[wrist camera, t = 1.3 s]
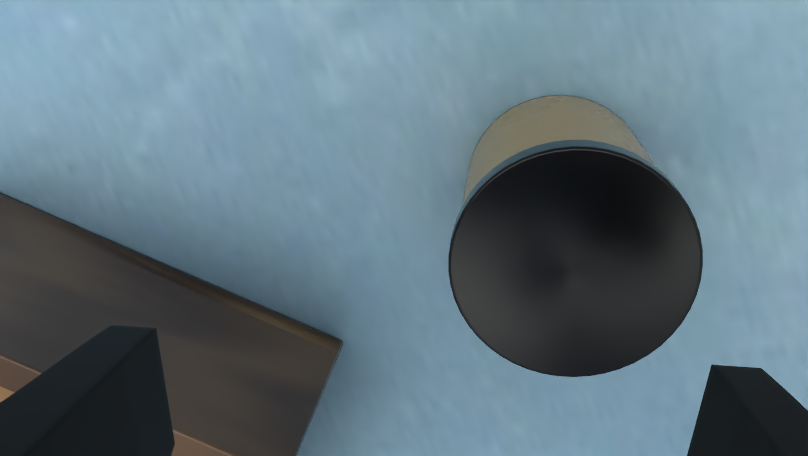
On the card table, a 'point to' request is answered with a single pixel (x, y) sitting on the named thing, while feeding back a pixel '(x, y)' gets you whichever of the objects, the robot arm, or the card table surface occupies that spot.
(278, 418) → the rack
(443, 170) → the card table surface
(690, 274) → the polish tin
